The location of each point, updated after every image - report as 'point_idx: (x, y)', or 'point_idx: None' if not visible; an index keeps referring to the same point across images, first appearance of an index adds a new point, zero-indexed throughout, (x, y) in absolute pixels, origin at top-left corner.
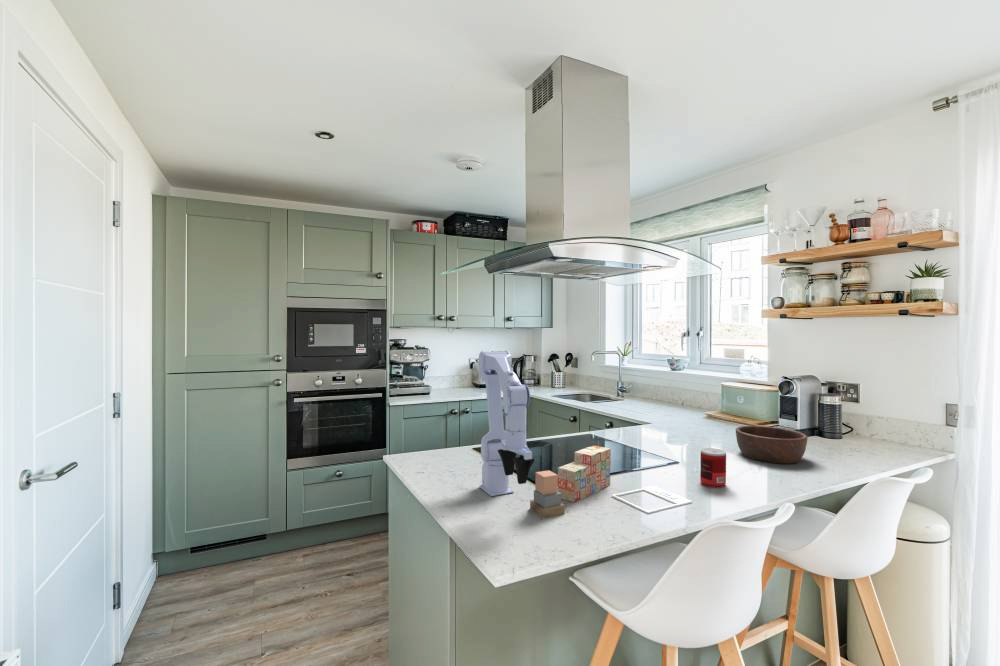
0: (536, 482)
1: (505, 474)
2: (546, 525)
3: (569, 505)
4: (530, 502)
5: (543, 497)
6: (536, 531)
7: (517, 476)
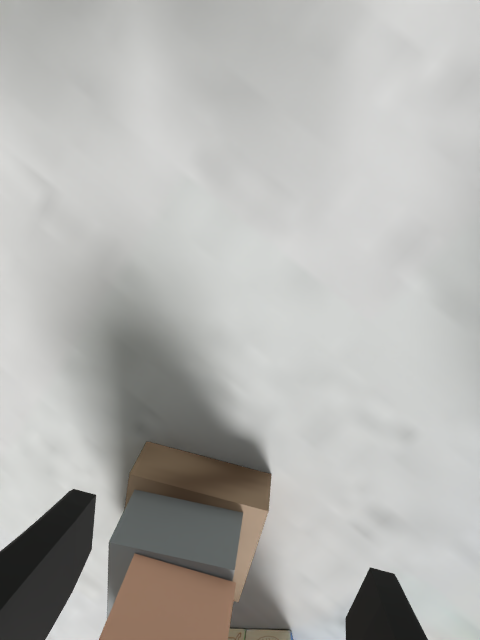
0: (211, 636)
1: (390, 578)
2: (70, 398)
3: None
4: (266, 500)
5: (128, 537)
6: (37, 319)
7: (34, 550)
